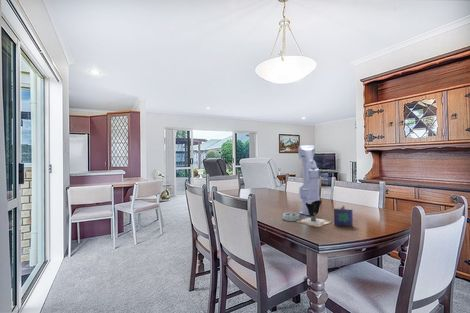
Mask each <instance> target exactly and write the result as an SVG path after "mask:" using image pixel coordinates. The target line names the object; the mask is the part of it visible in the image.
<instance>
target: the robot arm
mask: <svg viewBox="0 0 470 313" xmlns="http://www.w3.org/2000/svg"><path fill="white" fill-rule="evenodd" d="M297 150H298V151H297V152H298V159H300V160H301V163H302V185H300V186H299V187H298V188H299V189H298V196H299V199H300V200H301V211H299V212H298V214H302V215H305V216H309V217H311V216H314V214H319V212H320V206H321V204H322V202H323V200H321V199H320V197H321V196H320V179H321V171H320V169H319V167H318V165H317V162H316V161H315V160H314V156H315V154H316V147H315V145H299V146H298V149H297Z"/></svg>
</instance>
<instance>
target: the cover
mask: <svg viewBox="0 0 470 313" xmlns="http://www.w3.org/2000/svg"><path fill="white" fill-rule="evenodd" d="M310 217H311V218H310ZM316 218H317V213H315V214H314V216H308V217H306V218H304V219H305V220H303V219H302V220H303V221H302V222H303V223H310V224H316V225H320V224H322V223H323V222H324V221H325V220H326V219H323V218H317V219H316Z"/></svg>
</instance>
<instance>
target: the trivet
mask: <svg viewBox="0 0 470 313" xmlns="http://www.w3.org/2000/svg"><path fill="white" fill-rule="evenodd" d="M309 218H311V216H309ZM305 219H306V218H304V219H303V218H302V219H299V220H298V221H295V222H296V223H299V224H303V225H307V226H311V227H314V228H321V227H324V226H327V225H329V224H332V223H333V221H331V220H330V221H329V220H326V219H324V220H325V221H324V222H323V223H322V224H320V225H316V224H310V223H303V222H302V221H303V220H305ZM316 219H318V218H317V217H316Z"/></svg>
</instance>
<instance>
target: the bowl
mask: <svg viewBox="0 0 470 313" xmlns="http://www.w3.org/2000/svg"><path fill="white" fill-rule="evenodd" d="M282 214H283V215H282V218H283V220H284V221H285V222H286V221H287V222H296V221H299V220H300V213H296V212H284V213H282Z"/></svg>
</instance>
